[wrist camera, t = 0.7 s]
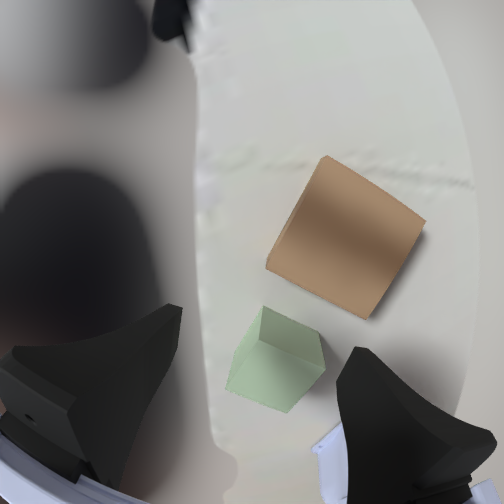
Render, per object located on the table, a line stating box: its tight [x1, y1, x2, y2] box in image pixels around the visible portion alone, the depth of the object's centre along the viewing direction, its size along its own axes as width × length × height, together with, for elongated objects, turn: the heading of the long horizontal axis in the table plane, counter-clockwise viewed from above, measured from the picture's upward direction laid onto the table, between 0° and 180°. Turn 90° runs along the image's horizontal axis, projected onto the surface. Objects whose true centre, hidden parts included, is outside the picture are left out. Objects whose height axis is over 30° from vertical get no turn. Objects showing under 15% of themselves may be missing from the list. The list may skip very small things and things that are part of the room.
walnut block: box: [265, 155, 426, 320], centre depth 18 cm, size 8×8×3 cm
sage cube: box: [225, 306, 326, 413], centre depth 20 cm, size 5×5×5 cm
